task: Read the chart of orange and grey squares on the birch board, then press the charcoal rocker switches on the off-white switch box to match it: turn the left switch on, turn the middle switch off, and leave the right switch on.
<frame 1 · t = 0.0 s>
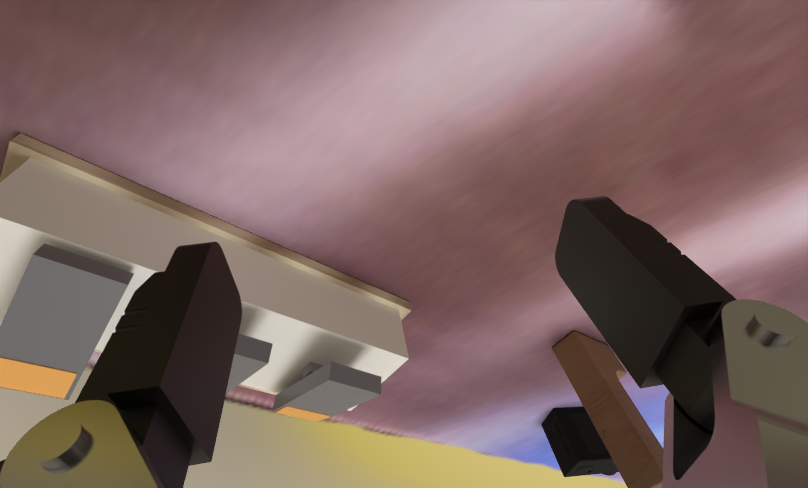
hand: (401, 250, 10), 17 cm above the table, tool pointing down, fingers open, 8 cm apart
digital camera: (576, 415, 56), on the table
switch box: (223, 315, 28), on the chart board, point 4 cm above the table
switch middle: (211, 366, 25), point 8 cm above the table, hinge at 15.0°
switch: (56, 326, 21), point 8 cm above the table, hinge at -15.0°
chart board: (214, 305, 33), on the table
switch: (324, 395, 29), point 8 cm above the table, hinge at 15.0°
wooden block: (579, 345, 45), on the table
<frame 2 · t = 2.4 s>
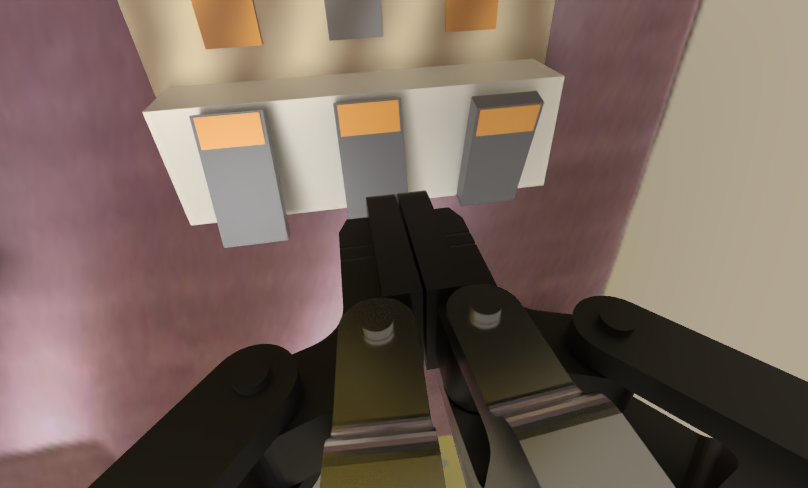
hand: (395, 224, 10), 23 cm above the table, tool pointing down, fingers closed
switch box: (368, 141, 29), on the chart board, point 4 cm above the table
switch middle: (373, 166, 26), point 8 cm above the table, hinge at 15.0°
chart board: (359, 75, 30), on the table
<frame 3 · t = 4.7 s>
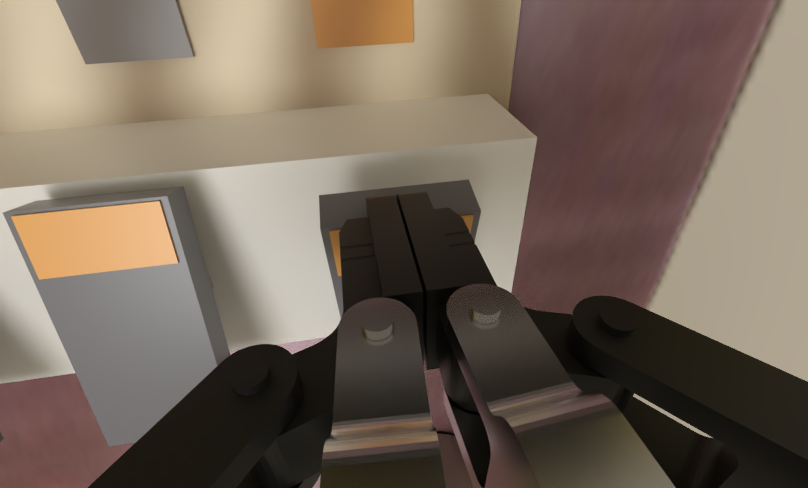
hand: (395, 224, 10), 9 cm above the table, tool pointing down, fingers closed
switch box: (181, 246, 16), on the chart board, point 4 cm above the table
switch middle: (143, 324, 13), point 8 cm above the table, hinge at 15.0°
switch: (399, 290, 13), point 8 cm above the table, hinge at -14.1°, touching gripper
chart board: (177, 123, 17), on the table
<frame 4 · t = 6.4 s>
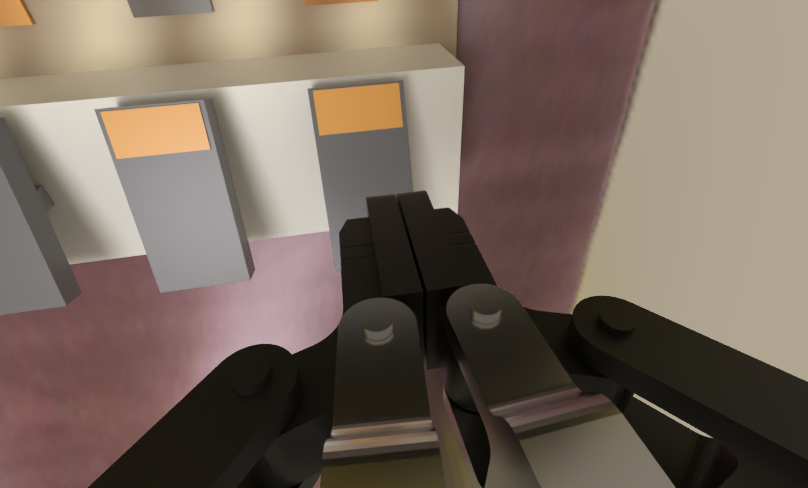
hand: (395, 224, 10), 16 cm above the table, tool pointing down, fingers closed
switch box: (205, 159, 21), on the chart board, point 4 cm above the table
switch middle: (184, 199, 18), point 8 cm above the table, hinge at 15.0°
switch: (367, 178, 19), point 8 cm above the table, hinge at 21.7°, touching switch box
chart board: (199, 68, 22), on the table
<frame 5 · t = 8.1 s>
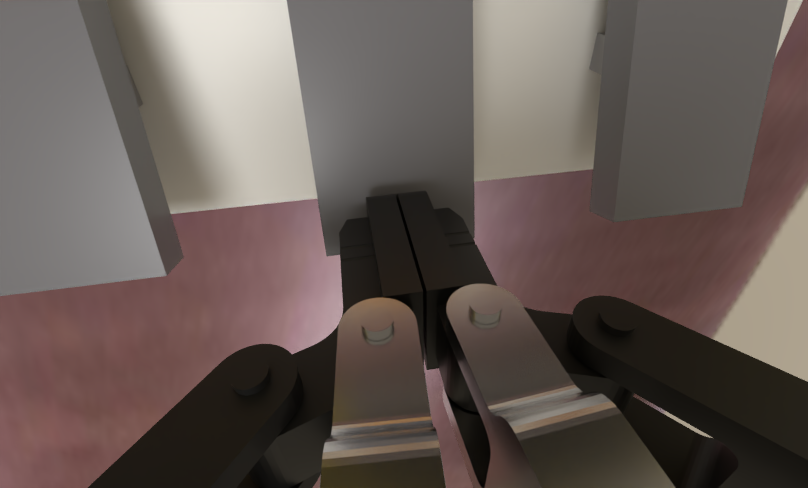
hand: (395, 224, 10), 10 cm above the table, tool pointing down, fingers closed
switch box: (371, 51, 13), on the chart board, point 4 cm above the table
switch middle: (386, 86, 10), point 8 cm above the table, hinge at 15.0°, touching gripper
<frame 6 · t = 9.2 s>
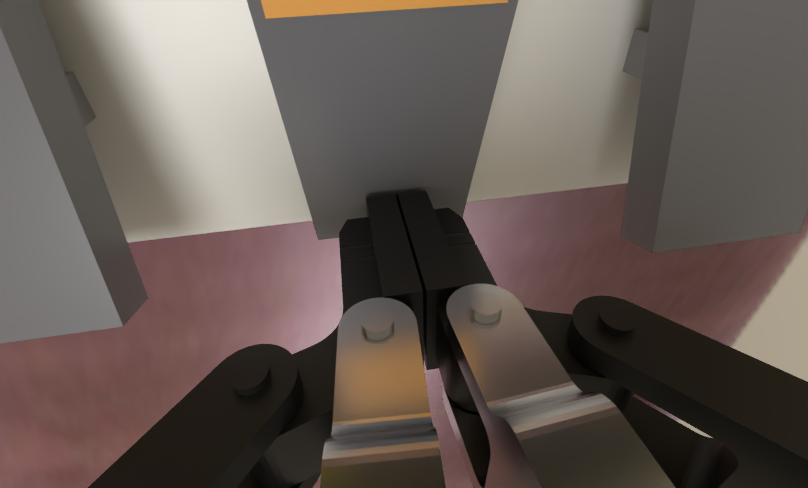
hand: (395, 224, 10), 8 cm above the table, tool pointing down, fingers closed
switch box: (367, 51, 11), on the chart board, point 4 cm above the table
switch middle: (386, 98, 8), point 8 cm above the table, hinge at -21.6°, touching switch box
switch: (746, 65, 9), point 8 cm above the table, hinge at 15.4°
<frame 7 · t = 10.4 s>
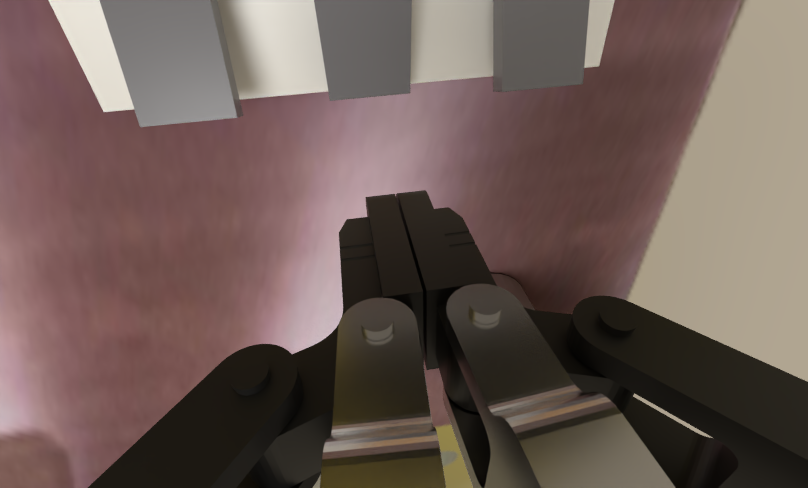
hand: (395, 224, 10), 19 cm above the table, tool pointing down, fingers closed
switch middle: (363, 5, 17), point 8 cm above the table, hinge at -15.3°
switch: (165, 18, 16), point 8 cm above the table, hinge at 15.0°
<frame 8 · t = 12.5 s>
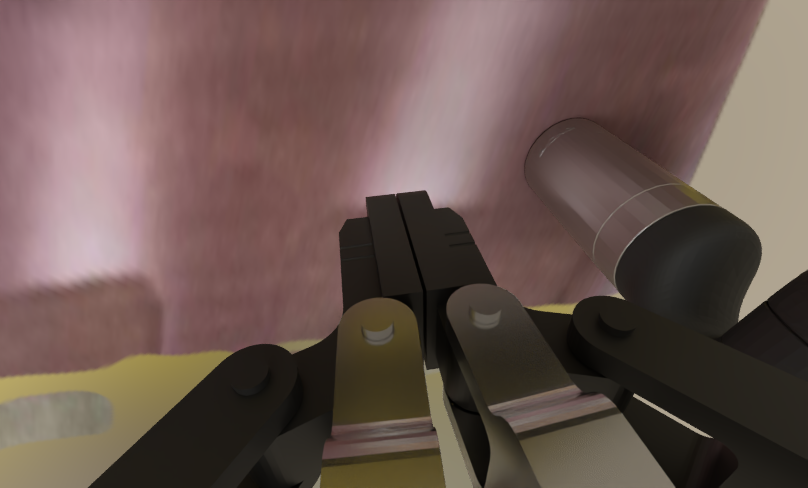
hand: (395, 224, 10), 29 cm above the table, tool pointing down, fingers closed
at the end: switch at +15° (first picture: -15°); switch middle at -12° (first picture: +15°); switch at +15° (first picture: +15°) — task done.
